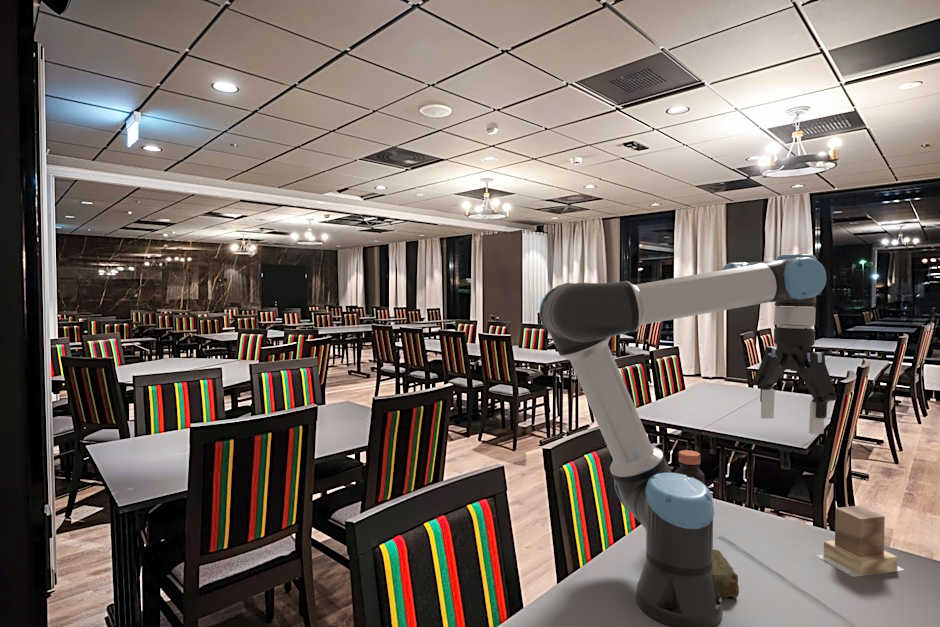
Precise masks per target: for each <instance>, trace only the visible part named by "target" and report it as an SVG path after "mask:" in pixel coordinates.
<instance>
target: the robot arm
mask: <svg viewBox="0 0 940 627" xmlns="http://www.w3.org/2000/svg"><path fill="white" fill-rule="evenodd" d="M817 259H818V258H817V257H816V256H815V255H813V254H809V253H806V254H805V253H799V254H797V253H789V254H781V255H778V256H777V258H776V260H767V261H756V262H742V261H740V262H728V263H727V264H725V265H724V266H723V268H721V270H714V271H708V272H703V273H696V274H691V275H686V276H684V275H683V276H680V277H679V276H678V277H674V278H666V279H661V280H660V279H659V280H657V281H656V280H655V281H650V282H645V283H638V284H637V283H636V284H633V283H631V282H630V281H628V280H623V281H616V282H604V283H603V282H602V283H598V282H595V283H594V282H575V283H573V282H571V283H570V282H568V283H562V284H560V285H557V286H555V287H553V288H551V290H549V291H548V292H547V293H546V294H545V295H544V296H543V298H542V300H541V303H540V306H539V318H540V319H539V320H540V322H541V325H542V327H543V328H544V329H545V331H546V332H548V334H549V335H550V337H551V339H552V341H553V343H554V346H555V348H556V350H557V352H558V354H559V356H560V357H562V358H564V359H566V360H569V362H570V364H571V366H572V369H573V371H574V374H575V375H576V378H577V381H578V382H579V385H580V387H581V389H582V391H583V394H584V397H585V398H586V401H587V404H588V405H589V407H590V410H591V412H592V414H593V417H594V419H595V422H596V424H597V426H598V429H599V430H600V433H601V436H602V438H603V439H604V442H605V445H606V446H607V449H608V451H609V453H610V455H611V458H612V462H611V464H610V466H609V471H610V473H611V476H612V478H613V485H614V490H615V493H616V495H617V498H618V499H619V502H620V504H622V506H623V507H624V508H625V509H626V510H627V511H629V512H630V513H631V514H632V516H633V517H634V518H636V520H637V521H638V522H639V523H640V524H641V526H642V527H643V528H644V529H645V536H646V537H645V541H646V542H645V547H646V548H645V549H646V550H645V562H644V564H643V567H642V570H641V573H640V577H639V580H638V581H637V585H636V594H635V595H636V599H635V600H636V603H637V605H638V606H639V608H640V609H641V610H642V611H643V613H645V614H646V615H648V616H649V617H650V618H651V619H654V620H655V621H657V622H659V623H662V624H664V625H667V626H669V627H715V626H716V625H719V623H720V622H721V621H722V619H723V615H724V613H723V612H724V611H723V607H724V604H723V600H722V599H723V598H721V596H720V592H719V589H718V586H717V583H716V580H715V577H714V574H713V570H712V559H713V550H714V549H713V548H714V543H713V542H714V516H715V510H714V509H715V508H714V507H715V506H714V504H713V503H714V502H713V496H712V495H713V494H712V492H711V490H710V489H709V487H707V486H706V484H705V483H704V484H703V483H702V482H700V481H699V480H697V479H695V478H692V477H687V476H686V475H683V474H678V473H675V472H672V471H671V468H670V466H669V463H668V462H667V459H666V458H665V454H664V453H663V451H662V449H660V448H659V447H655V446H653V445H652V443H651V441H650V439H649V436H648V433H647V432H646V430H645V427H644V425H643V423H642V420H641V418H640V415H639V413H638V410H637V408H636V406H635V404H634V402H633V399H632V397H631V395H630V393H629V392H630V391H628V387H627V385H626V383H625V381H624V378H623V376H622V374H621V372H620V370H619V367H618V364H617V362H616V360H615V358H614V355H613V353H612V351H611V349H610V346H609V342H610V340H611V338H612V337H615V336H620V335H624V334H629V333H634V332H638V330H639V329H640V327H641V326H643V325H649V324H655V323H658V322H664V321H665V322H666V321H671V320H677V319H681V318H688V317H694V316H699V315H704V314H710V313H716V312H722V311H726V310H732V309H738V308H739V309H740V308H745V307H749V306H754V305H760V304H767V303H773V302H774V313H773V314H774V319H773V324H774V325H775V326H776V327H774V329H773V343H774V344H775V345H776V346H765V348H764V356H763V358H762V359H761V360H762V361H761V363H760V365H759V367H758V370H757V373H756V374H755V376H754V379H753V384H754V385H757V386H758V387H759V389H760V392H759V393H760V399H759V401H760V403H761V404H760V419H764V420H765V419H774V417H775V395H776V394H775V392H776V390H775V387H774V386H775V385H776V383H777V382H778V380H779V379H781V377H782V375H783V374H784V373H785V371H787V370H790V371H792V372H796V374H798V375H800V377H801V379H802V381H803V382H804V384H805V386H806V388H807V390H808V391H809V393H810V396H811V397H812V400H810V401H809V402H810V404H809V406H810V407H809V427H808V428H809V429H808V431H809V432H808V433H809V434H811V435H820V434H822V435H823V434H824V433H825V419H826V418H827V414H828V412H827V409H828V403H830V402H833V401H838V395H837V393H836V390H835V387H834V383H833V382H832V379H831V376H830V373H829V370H828V367H827V364H826V356H825V353H824V352H822V351H821V352H820V351H819V352H818V351H817V352H815V351H814V352H812V348H811V347H813V346H814V345H815V336H816V330H815V329H814V328H812V327H814V326H815V325H816V311H817V308H816V305H817V296H818V295H819V294H820V293H821V292H822V291H823V290H824V288H825V286H826V284H827V272H826V269H825V267H824V266H823V264H822V263H821V262H820V261H818V260H817Z"/></svg>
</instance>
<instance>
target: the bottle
mask: <svg viewBox="0 0 940 627" xmlns="http://www.w3.org/2000/svg"><path fill="white" fill-rule="evenodd" d="M678 464H679V467H678V468H676V470H674V473H678V474H683V475H686V476H687V477H692V478H695V479H697V480H699V481H700V482H702V483H703V484H704V485H705V473H704V472H703V471H702V470H701V469H700V468H699V467H700V466H701V453H699V451H694V450H688V449H685V450H683V449H682V450H680V451H678Z"/></svg>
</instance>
